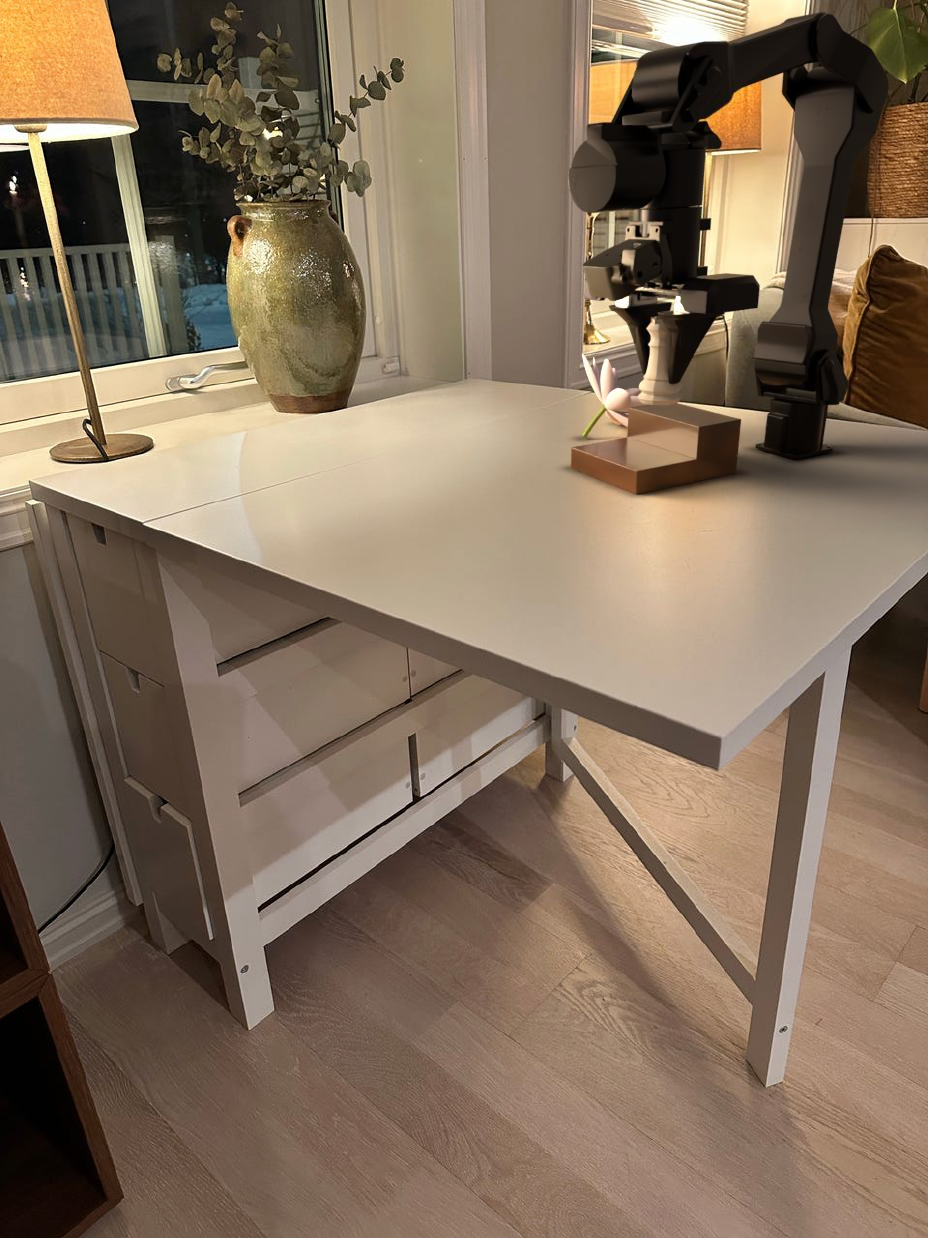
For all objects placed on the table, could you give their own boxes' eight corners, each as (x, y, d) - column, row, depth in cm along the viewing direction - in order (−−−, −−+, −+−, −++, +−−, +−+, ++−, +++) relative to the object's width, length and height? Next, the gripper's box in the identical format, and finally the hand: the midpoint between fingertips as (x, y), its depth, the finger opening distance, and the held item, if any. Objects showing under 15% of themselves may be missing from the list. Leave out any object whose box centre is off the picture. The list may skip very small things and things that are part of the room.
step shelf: (665, 450, 108) (668, 400, 106) (736, 472, 99) (741, 419, 96) (570, 468, 102) (571, 416, 100) (635, 494, 93) (638, 437, 90)
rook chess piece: (674, 407, 86) (679, 321, 82) (630, 403, 88) (633, 319, 85) (688, 397, 89) (694, 314, 86) (646, 394, 91) (650, 313, 88)
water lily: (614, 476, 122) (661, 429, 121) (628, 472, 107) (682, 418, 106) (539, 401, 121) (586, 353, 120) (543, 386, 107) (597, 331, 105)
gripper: (540, 212, 85) (541, 377, 92) (671, 211, 70) (660, 408, 77) (631, 206, 90) (626, 364, 97) (772, 204, 75) (754, 391, 82)
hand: (661, 380), depth 88 cm, fingers closed on rook chess piece, 3 cm apart
